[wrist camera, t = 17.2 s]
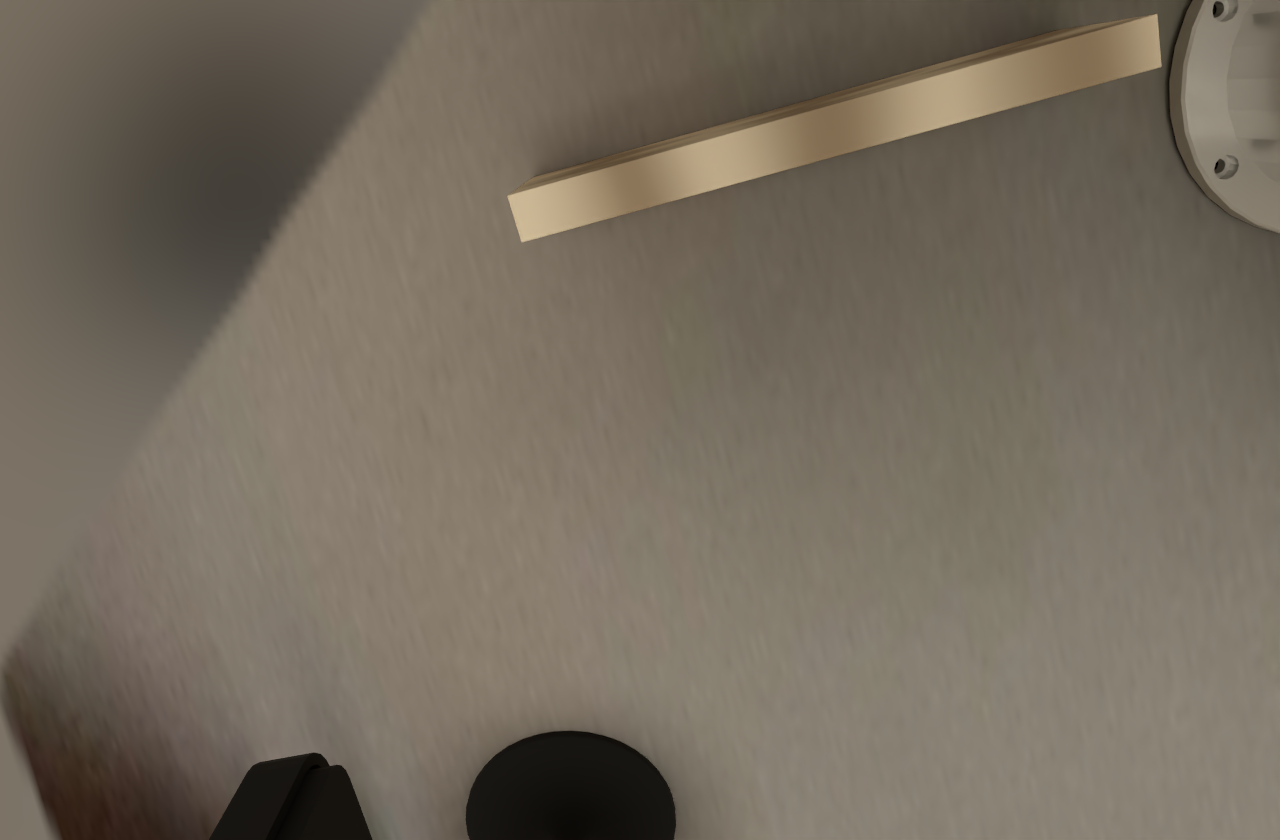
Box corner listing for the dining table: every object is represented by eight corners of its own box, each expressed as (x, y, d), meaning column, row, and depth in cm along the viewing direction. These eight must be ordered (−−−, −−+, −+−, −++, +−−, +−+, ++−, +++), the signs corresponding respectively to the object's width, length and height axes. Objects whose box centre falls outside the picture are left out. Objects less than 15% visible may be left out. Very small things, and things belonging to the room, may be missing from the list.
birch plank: (1057, 30, 34) (1157, 13, 27) (1061, 72, 34) (1161, 66, 28) (532, 177, 36) (507, 195, 29) (544, 215, 36) (521, 242, 30)
